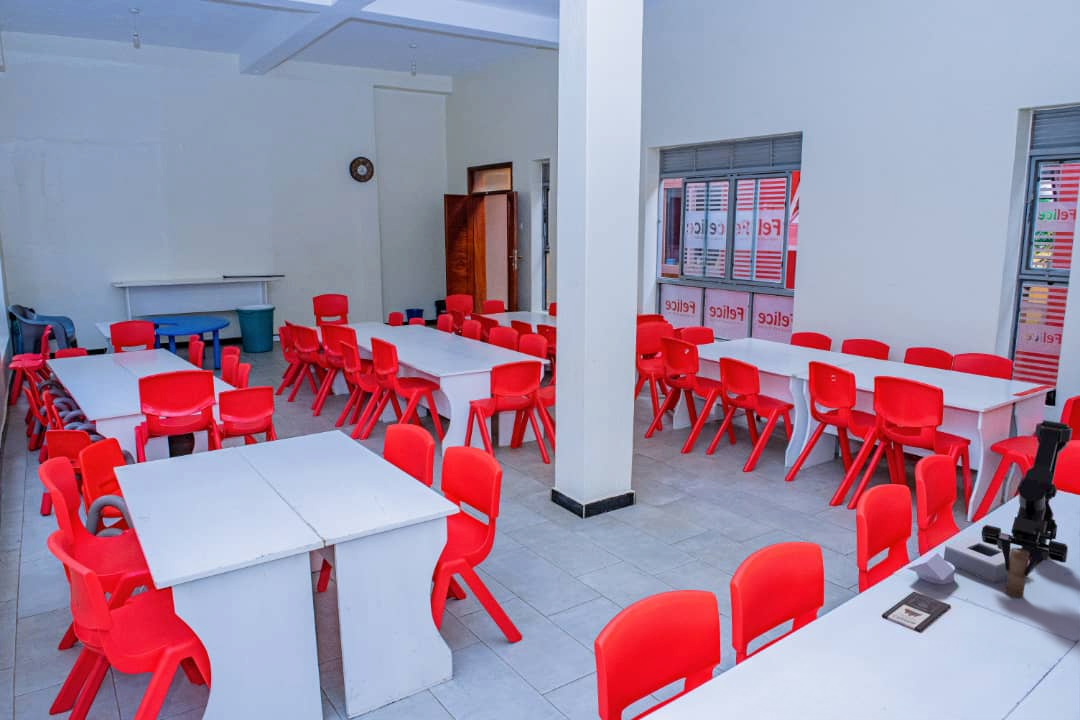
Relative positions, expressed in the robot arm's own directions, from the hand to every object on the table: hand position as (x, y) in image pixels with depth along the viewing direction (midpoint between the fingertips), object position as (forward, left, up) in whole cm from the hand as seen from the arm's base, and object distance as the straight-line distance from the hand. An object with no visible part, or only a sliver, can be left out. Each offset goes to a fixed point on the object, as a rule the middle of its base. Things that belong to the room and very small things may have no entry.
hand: (1016, 572), depth 195 cm
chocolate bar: (+29, -8, -7) cm, 31 cm away
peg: (-1, 0, -7) cm, 7 cm away
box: (-10, -13, -7) cm, 18 cm away
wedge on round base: (+9, -16, -7) cm, 20 cm away
